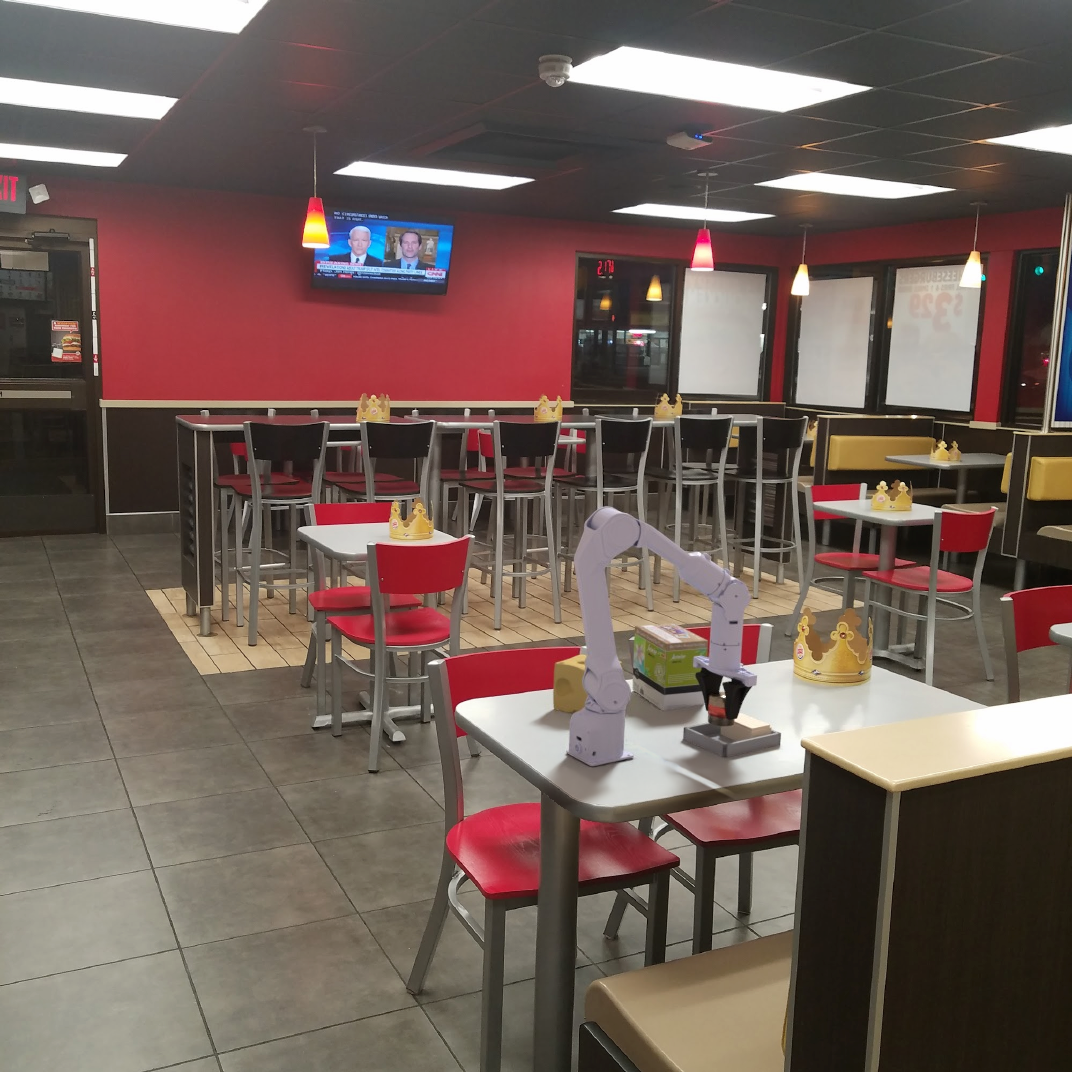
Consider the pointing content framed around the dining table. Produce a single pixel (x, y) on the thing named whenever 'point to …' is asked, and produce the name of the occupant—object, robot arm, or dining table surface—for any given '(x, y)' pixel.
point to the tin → (718, 710)
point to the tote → (727, 740)
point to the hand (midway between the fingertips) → (721, 714)
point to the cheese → (570, 684)
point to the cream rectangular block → (745, 728)
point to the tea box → (667, 665)
